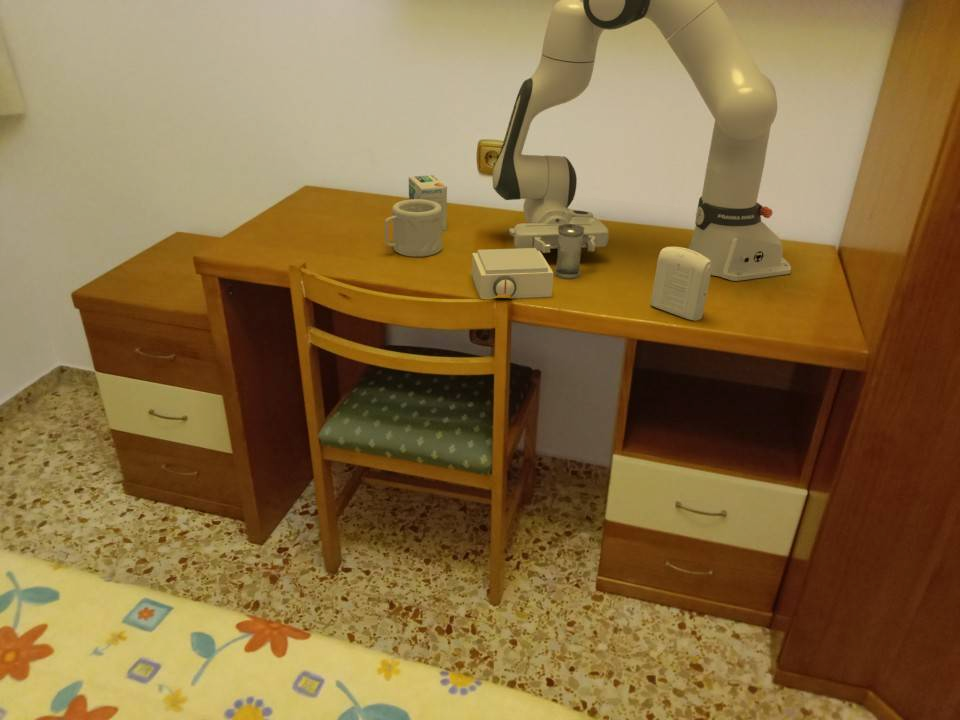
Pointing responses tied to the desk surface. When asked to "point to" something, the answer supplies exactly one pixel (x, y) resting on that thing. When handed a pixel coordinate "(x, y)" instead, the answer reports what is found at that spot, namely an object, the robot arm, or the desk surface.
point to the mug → (416, 228)
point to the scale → (512, 273)
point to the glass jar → (569, 251)
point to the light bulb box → (430, 192)
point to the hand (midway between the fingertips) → (569, 248)
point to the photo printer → (681, 282)
